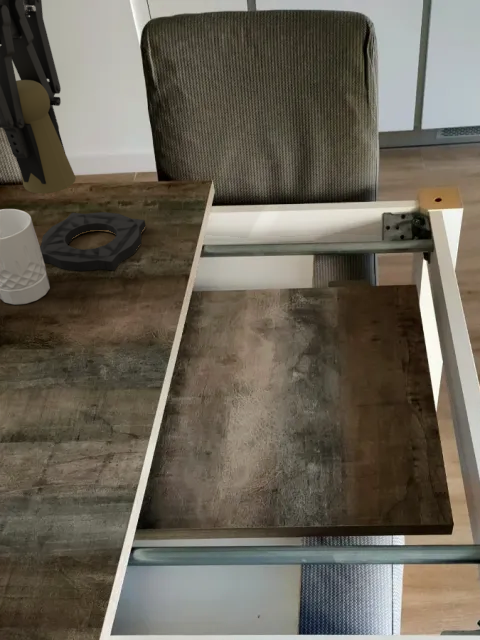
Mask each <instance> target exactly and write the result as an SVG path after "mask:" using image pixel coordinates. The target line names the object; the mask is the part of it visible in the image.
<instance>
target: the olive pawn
mask: <svg viewBox="0 0 480 640" xmlns="http://www.w3.org/2000/svg"><path fill="white" fill-rule="evenodd" d="M16 83H17V88H18V93H19V98H20V103H21V108H22V113H23V118H24V123H26V124H31V127H32V130H33V134H34V137H35V140H36V143H37V146H38V150H39V155H40V159H41V163H42V168H43V172H44V176H45V181H46V184H42V183H41V181H40V180H39V179H38V178H36V177H35V176H34V175H33V174H32V173H31V175H30V178H29V181H28V182H24V180H23V177H22V174H21V173H20V176H21V180H22V186H23V188H24V190H26V191H27V192H30V193H34V194H52V193H57V192H61V191H64V190H65V189H68V188H69V187H71V186H73V185H74V183H75V182H76V179H77V178H76V175H75V173H74V170H73V168H72V165H71V162H70V161H69V159H68V156H67V154H66V150H65V148H64V149H63V147H64V146H63V147H62V144H61V142H60V140H59V137H58V135H57V133H56V130H55V128H54V126H53V123H52V121H51V119H50V116H49V114H48V111H49V108H50V99H49V96H48V93H47V91H46V90H45V88H44V87H43V86H42V85H41V84H40V83H38V82H36V81H32V80H21V79H19V80H17V79H16ZM10 114H11V113H10ZM11 115H12V114H11ZM64 150H65V151H64Z"/></svg>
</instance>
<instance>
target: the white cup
mask: <svg viewBox="0 0 480 640" xmlns="http://www.w3.org/2000/svg"><path fill="white" fill-rule="evenodd" d="M37 236H38V235H37V233H36V230H35V226H34V223H33V220H32V217H31V215H30V214H29V213H28V212H26V211H24V210H21V209H18V208H17V209H15V208H3V209H2V208H1V209H0V300H1V301H2V302H3V303H6V304H9V305H14V306H15V305H16V306H17V305H26V304H30V303H33V302H37V301H38V300H40V299H42V298H43V297H44V296H46V295H47V293H48V292H49V291H50V289H51V286H50V279H49V277H48V274H47V273H48V272H47V270H46V267H47V266H46V263H44V261H43V256H42V253H41V249H40V246H41V245H40V243H39V240H38V237H37Z"/></svg>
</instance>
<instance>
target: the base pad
mask: <svg viewBox="0 0 480 640" xmlns="http://www.w3.org/2000/svg"><path fill="white" fill-rule="evenodd" d="M145 226H146V227H147V225H146V220H145V219H140V218H138V219H137V218H131V217H129V216H126V215H124V214H121V213H115V212H106V211H101V212H99V211H98V212H90V213H79V212H71V213H70V214H69V215H68V216H67V217H66V218H65V219H64V220H62V221H60V222H58V223H56V224H54V225H52V226H51V227H50V228H49V229H48V230H47V231H46V232H45V233H44V234H43V236H42V238H41V239H42V240H41V243H40V244H41V245H39V246H40V249H41V253H42V256H43V261H44V264H51V265H53V266H55V267H57V268H60V269H62V270H67V271H68V270H69V271H77V272H86V271H94V270H95V271H96V270H103V271H104V270H105V271H115V270H116V269H117V268H118V266H119V265H120V264H121V263H122V262H124V261H125V260H127V259H129V258H130V257H132V256H133V255H132V254H133V253H134V252H135V251H136V249H137V248H138V246H139V245H140V244H141V245H142V235H141V232H142V230H143V229H144V227H145ZM90 230H109V231H111V232H113V233H115V234H116V235H115V237H114V238H113V239H112V240H110V242H108V243H106V244H104V245H101V246H98V247H95V248H94V247H93V248H84V249H83V248H74V247H73V246H70V243H71V242H72V241H73V240H72V238H73V237H75V236H76V235H78V234H80V233H82V232H86V231H90ZM71 240H72V241H71ZM70 241H71V242H70ZM69 242H70V243H69ZM68 244H69V245H68ZM141 245H140V246H141ZM138 249H139V248H138ZM138 249H137V250H138ZM136 252H137V251H136ZM136 252H135V253H136ZM135 253H134V254H135ZM131 255H132V256H131ZM129 256H130V257H129ZM128 257H129V258H128ZM126 258H127V259H126ZM124 259H125V260H124ZM123 260H124V261H123ZM121 261H122V262H121ZM120 262H121V263H120ZM119 263H120V264H119ZM118 264H119V265H118ZM116 267H117V268H116Z"/></svg>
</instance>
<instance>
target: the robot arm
mask: <svg viewBox="0 0 480 640" xmlns="http://www.w3.org/2000/svg"><path fill="white" fill-rule="evenodd" d="M42 2H43V1H42V0H0V128H1V129H3V131H4V132H5V136H6V138H7V141H8V144H9V147H10V150H11V154H12V155H13V157H14V158H15V159H16V163H17V165H18V168H19V171H20V175H21V174H22V176H21V178H22V177H23V180H24V182H28V181H29V178H30V175H31V173H32V174H33V175H34V176H35V177H36V178H38V179H39V180H40V181H41V183H42V184H46V181H45V176H44V172H43V168H42V163H41V159H40V155H39V150H38V146H37V143H36V140H35V137H34V134H33V130H32V127H31V124H26V123H24V118H23V113H22V108H21V103H20V98H19V93H18V88H17V83H16V81H17V77H16V74H15V70H16V73H17V74H18V76H19V80H32V81H36V82H38V83H40V84H41V85H42V86H43V87H44V88H45V90H46V91H47V93H48V96H49V99H50V108H49V111H48V114H49V116H50V119H51V121H52V123H53V126H54V128H55V130H56V133H57V135H58V137H59V140H60V142H61V144H62V147H63V149H64V151H65V152H66V150H65V148H64V144H63V140H62V137H61V133H60V127H59V123H58V120H57V116H56V113H55V109H54V106H55V107H59V106H60V105H61V104H62V103H61V102H62V101H61V97H60V96H55V95H59V94H60V93H61V89H62V88H61V83H60V80H59V76H58V72H57V67H56V63H55V61H54V55H53V53H52V49H51V44H50V40H49V37H48V33H47V29H46V25H45V21H44V15H43V13H44V12H43V3H42ZM10 113H11V114H12V115H11V114H10Z"/></svg>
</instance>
